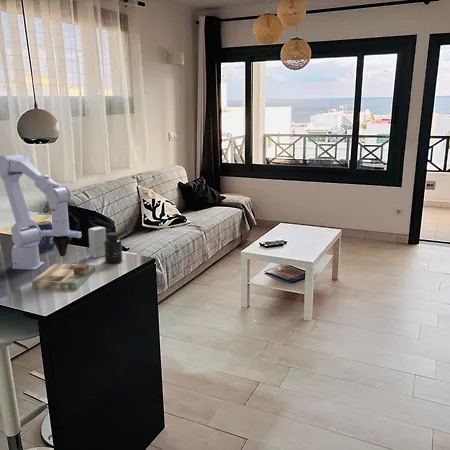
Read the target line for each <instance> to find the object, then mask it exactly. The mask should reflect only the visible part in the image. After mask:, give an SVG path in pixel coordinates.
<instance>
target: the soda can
mask: <svg viewBox="0 0 450 450" xmlns="http://www.w3.org/2000/svg"><path fill="white" fill-rule="evenodd" d="M37 224H38V227H39V228H40V230H41V231H43V230H53V228H52V221H47V220H46V221H44V220H43V221H38V222H37ZM52 239H53V236H42V239H41V240H40V243H39V244H38V249H39V251H41V252H45V251H46V252H47V251H52V250H53V249H54V248H55V247H56V245H55V244H54V242H53V241H52Z"/></svg>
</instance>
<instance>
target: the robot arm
mask: <svg viewBox="0 0 450 450" xmlns="http://www.w3.org/2000/svg"><path fill="white" fill-rule="evenodd" d="M23 175H25V176H27V177H28V178H30V179H31V180H32V181H33V182H34V186H35V187H36V188H37V189H38V190H39V191H40V192H41V193H42V194H44V195H45V198H46V202H47V203H48V207H49V209H50V214H51V215H50V217H51V224H52V228H53V230H43V231H41V230H40V228H39V227H38V224H37V223H38V222H37V221H35V220H33V219H31V217H30V213H29V210H28V207H27V203H26V201H25V197H24V194H23V191H22V188H21V184H20V181H19V180H20V177H22V176H23ZM0 179H1V180H2V181H3V185H4V188H5V192H6V194H7V199H8V201H9V204H10V207H11V211H12V215H13V218H14V220H15V221H14V222H15V223H14V224H13V226H12V227H11V228H10V230H11V231H10V233H11V240H12V243H13V244H14V245H13V246H12V247H11V248H12V249H11V261H12V262H11V263H12V269H13V270H31V271H33V270H34V271H35V270H37V269H38V268H40V267H41V266H42V265H44V264H45V261H41V259H40V249H39V248H38V244H39V243H40V240H41V239H42V236H53V239H52V241H53V242H54V244H55V247H56V248H57V251H58V254H59V257H65V256H66V255H67V250H68V246H69V243H70V240H71V239H72V238H77V239H81V238H82V236H83V235H82V231H78V230H71V229H70V222H69V211H68V209H69V208H68V207H69V206H68V202H69V201H70V199H71V192H70V189H69V188H68V187H67V186H66V185H60V184H58V183H57V182H56V181H55V180H54V179H52V178H51V177H50V175H48V174H42V173H41V172H40V171H39V170H38V169H37V168H36V167H35V166H34V165H33V164H32V163H31V159H30V157H28V155H27V154H25V153H17V154H7V155H5V154H4V155H0Z"/></svg>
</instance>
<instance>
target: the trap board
mask: <svg viewBox="0 0 450 450" xmlns="http://www.w3.org/2000/svg"><path fill="white" fill-rule="evenodd" d="M77 264H78V263H77ZM77 264H75V263H74V264H73V263H54V264H53V265H51V266H50V267H48V268H47V269H46V270H45V271H43V272H42V273H40V274H39V275H38V276H37V277H35V278H34V279H32V281H31V284H32V289H55V290H56V289H57V290H75V291H76V290H78V289H79V288H80V287H82V286H83V284H85V283H86V281H87V280H89V278H90V277H91V276H93V275H94V274H95V273H96V271H97V270H96V265H95V264H88V266H89V272H88V273H87V274H86V275H85V276H83V275H74V269H73V267H74V266H76V265H77Z"/></svg>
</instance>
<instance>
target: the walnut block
mask: <svg viewBox="0 0 450 450" xmlns="http://www.w3.org/2000/svg"><path fill="white" fill-rule="evenodd" d="M88 265H89V264H88V263H77V265H76V266H74V267H73V269H74V275H83V276H85V275H86V274H87V273H88V272H89V266H88Z"/></svg>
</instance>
